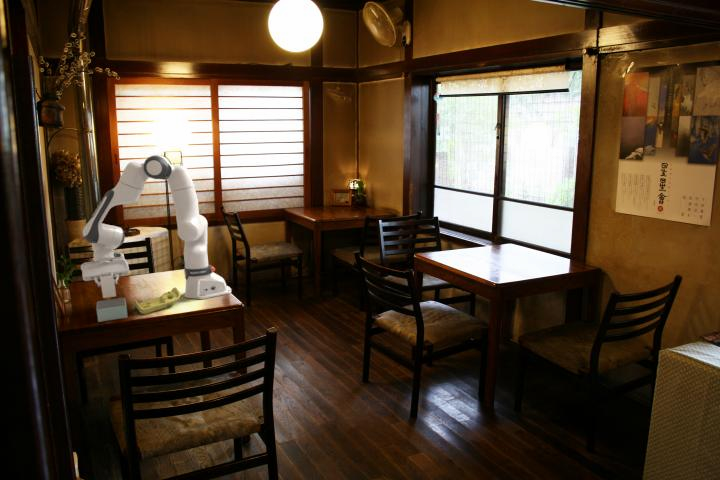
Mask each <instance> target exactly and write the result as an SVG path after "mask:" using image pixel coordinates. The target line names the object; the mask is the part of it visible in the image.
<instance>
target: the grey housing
mask: <svg viewBox="0 0 720 480" xmlns="http://www.w3.org/2000/svg"><path fill="white" fill-rule="evenodd" d="M114 278H115V277H113V273H111V272H108V273H101V275H100V279H99V280H100V281H99V282H101V286H100V288H101V292H102V298H103V299H106V298H107V299H108V298H113V297H117V293H116V292H117V291H116V284H114Z"/></svg>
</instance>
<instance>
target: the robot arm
mask: <svg viewBox="0 0 720 480" xmlns="http://www.w3.org/2000/svg"><path fill="white" fill-rule="evenodd" d="M149 179H153V180H163V181H164V180H165V181H167V184H168V187H169V189H170V194H171V197H172V201H173V205H174V209H175V219H176V225H177V235H178V237H179V238H180V240H182V241H183V242H184V245H183V247H184V249H183V259H184V260H183V261H184V269H183V272H184V278H185V291H184V297H185V298H188V299H198V300H206V299H210V298H214V297H215V298H216V297H219V296H224V295H229V294H231V293H232V288H231V287H230V286H228V285H227V283H226V281H225V279H224V278H223V277H222V276H221V275H219V274H218V273H215V271H216V268H215V267H214V266H213V265H212V264H209V257H208V227H209V226H208V225H209V223H208V220H207V218H206V217H205V216H203V215H202V214H200V212H199V211H200V209H199V199H198V195H197V192H196V188H195V185H194V181H193V179H192V176H191V173H190V171H189V169H188V168H187V166H184V165H181V164H176V165H172V163H171V160H170V159H169V158H168V157H167V156H164V155H162V154H153V155H150V156H149V157H147V158H146V159H145V161H144V162H143V163H142V162H139V161H130V162H128V163H127V165H126V166H125V168H124V169H123V171H122V174H121V175H120V177H119V181H118V182H117V184H116V186H114V188H112V189H109V190H108V191H106V192H105V194H104V195H103V196H102V198H101V200H100V201H99V203H98V205H97V207H96V208H95V210H94V212H93V214H92V215H91V216H90V218H89V220H88V221H87V222H86V224H85V225H84V226H83V229H82V232H81V233H82V235H81V236H82V237H83V239H84V240H85V241H86V243H89V244H91V247H92V251H93V260H92V261H88V262H87V261H85V262H83V263H82V264H81V265H80V270H81V272H82V273H81V275H82V280H83V281H84V282H88V281H94V282H95V284H97V287H98V288H101V281H99V280H100V275H101V273H108V272H111V273H113V278H115V279H114V285H118V283H119V282H118V281H119V279H120V277H121V276H122V277H123V276H128V275H129V274H130V267H129V263H128V261H127V259H125V255H124V253H122V252H114V250H115V249H118V248H120V246H121V245H123V243H124V242H125V239H126V237H125V231H124V230H123V228H122V227H120V226H116V225H110V224H106V223H103V222H104V219H105V218H106V216H107V215H108V212H109V211H110V209H112V208H113V207H115V206H120V205H126V204H127V205H128V204H132V203H135V202H136V201H138V199H140V197H141V196H142V195H141V194H142V192H143V190H144V187H145V185H146V182H147V180H149Z"/></svg>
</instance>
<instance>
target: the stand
mask: <svg viewBox="0 0 720 480" xmlns="http://www.w3.org/2000/svg"><path fill="white" fill-rule="evenodd" d="M127 308H128V307H127V301H126V298H125V297H120V298H113V299H111V298H110V299H107V300H106V299H105V300H99V301H96V315H97V322H98V323H100V322H101V323H102V322H107V321H113V320H119V319H127V318H129V317H128V309H127Z"/></svg>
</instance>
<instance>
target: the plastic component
mask: <svg viewBox="0 0 720 480" xmlns="http://www.w3.org/2000/svg"><path fill="white" fill-rule="evenodd" d="M180 298H181V292H180V291H179V290H178V288H177V287H173V288H171V290H170V291H169V290H168V291H167V292H164V293H163V294H161V296H160V297H159V296H158V297H155V298H152V299H149V300H146V301H142V302H138V300H137V299H133V308H134V309H135V310H138V312H139V313H141V314H142V315H147V314H151V313H154V312H157V311H160V310H163V309H166V308H168V306H173V305H174V304H175V303H176V302H177V301H178V300H179V299H180Z"/></svg>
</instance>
